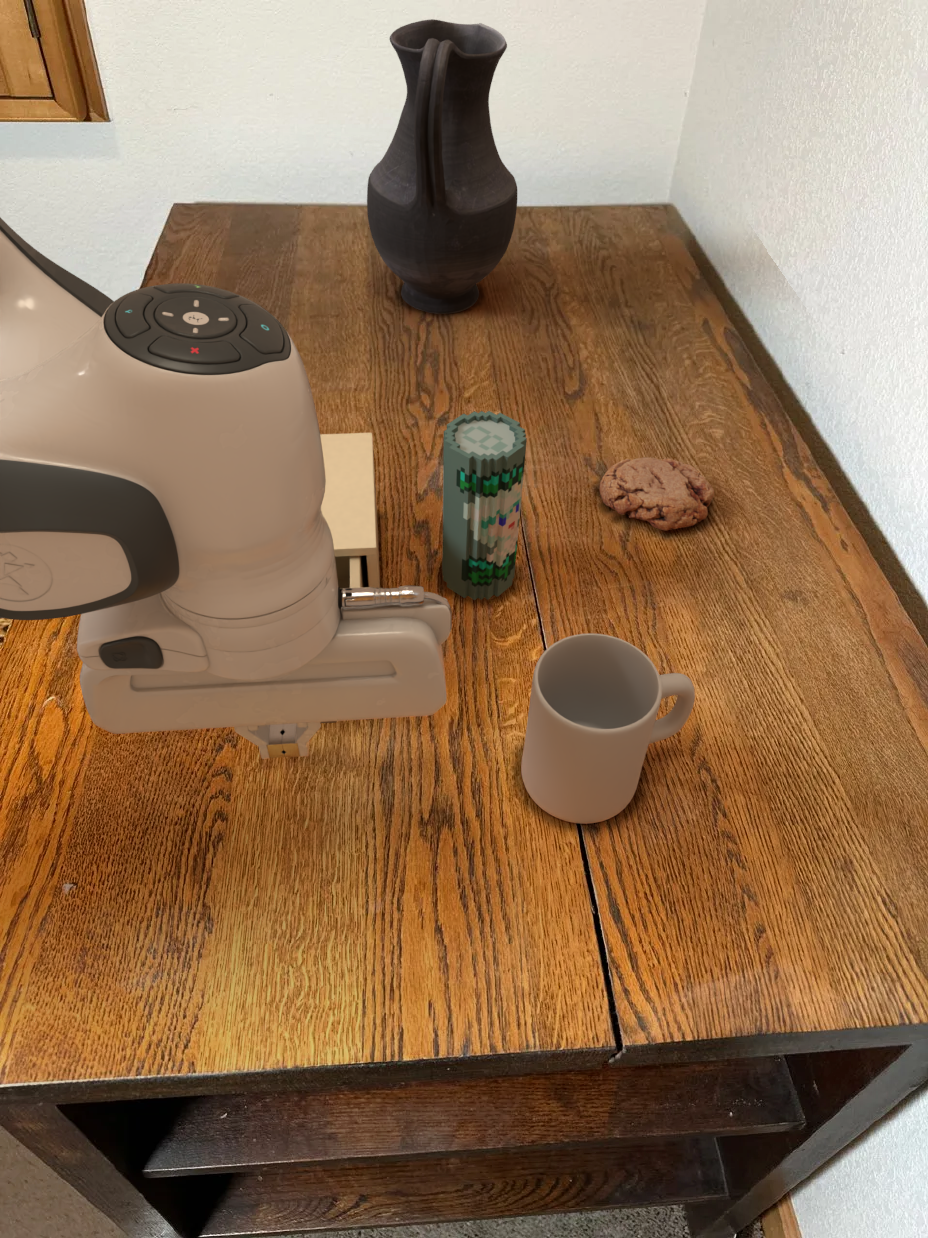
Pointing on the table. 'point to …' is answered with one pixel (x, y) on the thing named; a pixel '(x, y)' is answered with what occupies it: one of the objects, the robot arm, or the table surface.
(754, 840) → the table surface
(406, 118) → the pitcher
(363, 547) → the cabinet
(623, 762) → the mug
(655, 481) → the cookie
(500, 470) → the can
